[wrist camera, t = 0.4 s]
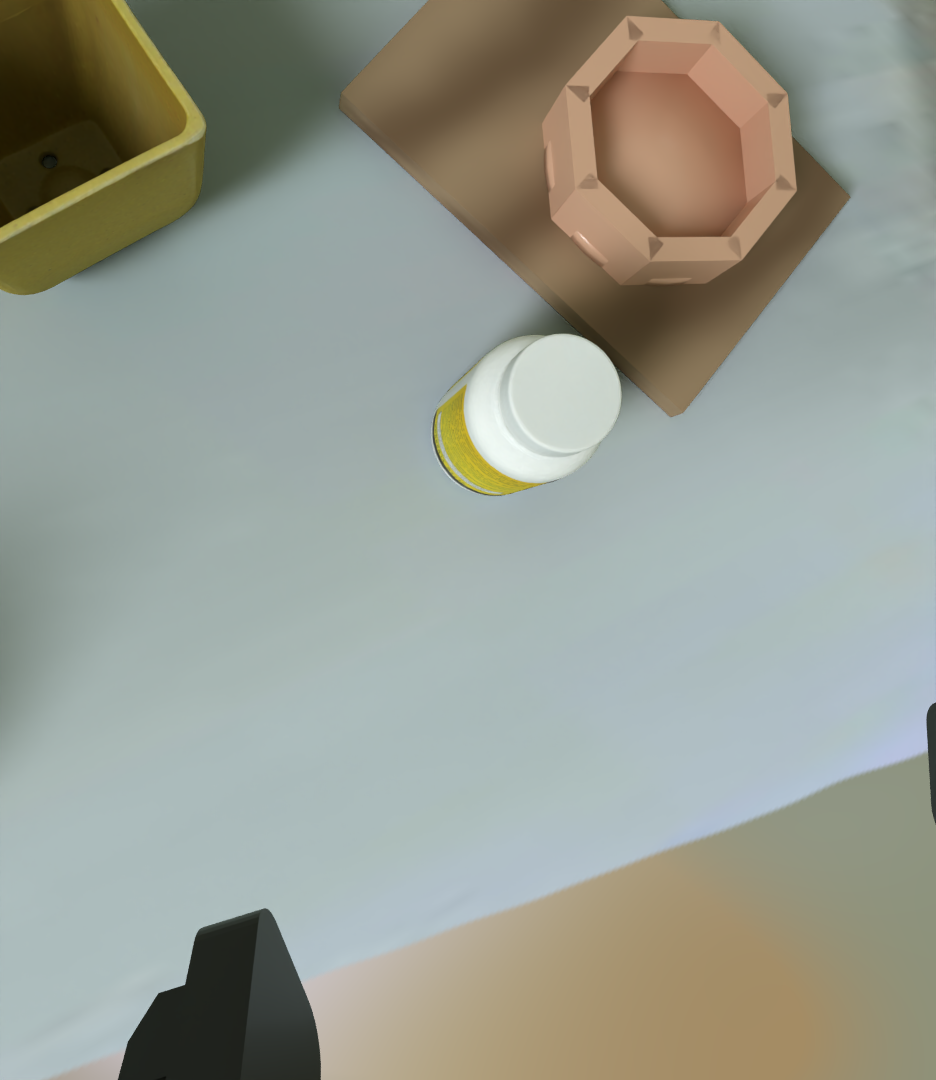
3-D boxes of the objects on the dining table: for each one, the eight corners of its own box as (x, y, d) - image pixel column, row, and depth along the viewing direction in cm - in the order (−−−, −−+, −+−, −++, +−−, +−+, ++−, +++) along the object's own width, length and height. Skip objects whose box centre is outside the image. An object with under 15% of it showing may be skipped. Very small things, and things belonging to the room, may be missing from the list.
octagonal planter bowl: (497, 170, 36) (517, 135, 33) (637, 11, 37) (668, -36, 35) (668, 333, 37) (701, 314, 34) (795, 174, 39) (837, 143, 36)
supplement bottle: (508, 520, 37) (590, 506, 27) (405, 453, 36) (453, 413, 26) (568, 420, 37) (669, 372, 28) (470, 351, 37) (539, 277, 27)
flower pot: (-100, 150, 32) (-245, -8, 23) (104, 51, 33) (43, -131, 25) (37, 347, 33) (-50, 268, 24) (230, 240, 34) (214, 130, 26)
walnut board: (338, 108, 35) (340, 92, 34) (536, -101, 38) (544, -122, 37) (670, 417, 39) (683, 412, 37) (834, 207, 41) (850, 197, 40)
